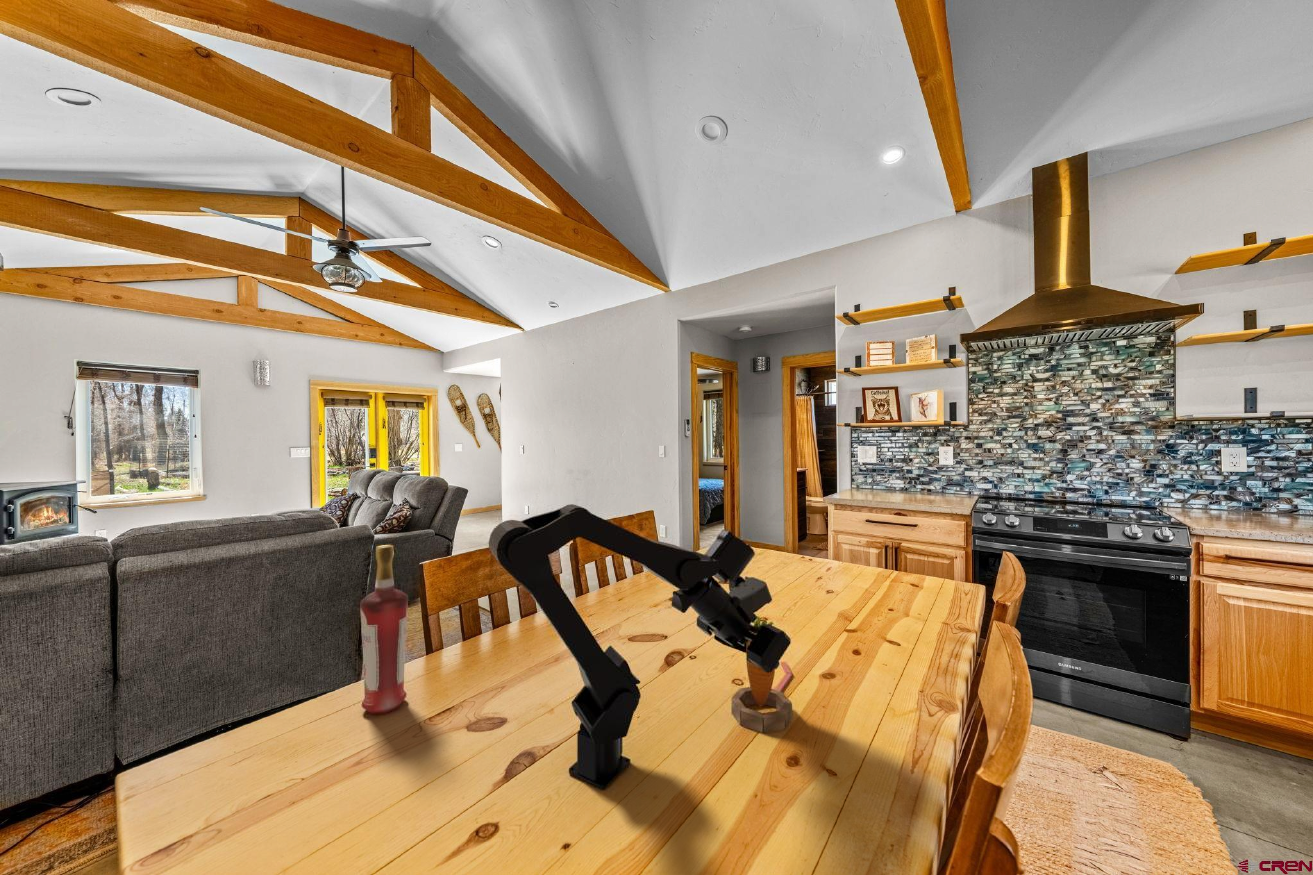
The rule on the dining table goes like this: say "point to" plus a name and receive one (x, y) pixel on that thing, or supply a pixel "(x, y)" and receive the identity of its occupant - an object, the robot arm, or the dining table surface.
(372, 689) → the liquor
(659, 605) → the dining table surface
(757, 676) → the carrot
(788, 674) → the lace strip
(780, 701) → the bead ring
